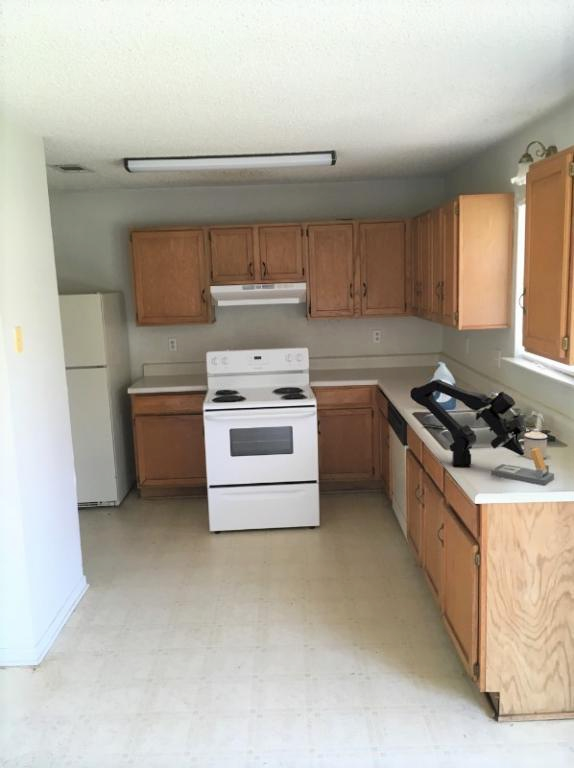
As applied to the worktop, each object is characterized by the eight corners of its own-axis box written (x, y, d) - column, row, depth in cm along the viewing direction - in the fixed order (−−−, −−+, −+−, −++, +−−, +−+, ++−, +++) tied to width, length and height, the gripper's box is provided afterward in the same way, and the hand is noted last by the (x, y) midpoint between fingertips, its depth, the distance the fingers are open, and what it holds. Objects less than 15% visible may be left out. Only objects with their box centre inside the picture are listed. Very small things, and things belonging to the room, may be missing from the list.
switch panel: (491, 475, 235) (491, 461, 235) (501, 468, 243) (502, 455, 242) (544, 485, 223) (545, 471, 222) (553, 478, 230) (554, 465, 229)
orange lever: (538, 476, 227) (529, 451, 227) (542, 473, 230) (534, 448, 231) (544, 475, 225) (535, 450, 226) (548, 472, 228) (539, 447, 229)
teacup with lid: (542, 453, 262) (544, 426, 260) (549, 460, 253) (551, 432, 251) (513, 453, 264) (514, 426, 262) (518, 459, 255) (520, 431, 253)
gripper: (500, 413, 225) (530, 447, 220) (519, 404, 239) (548, 436, 234) (478, 431, 232) (507, 465, 226) (499, 422, 246) (526, 454, 240)
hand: (523, 454), depth 231 cm, fingers closed
